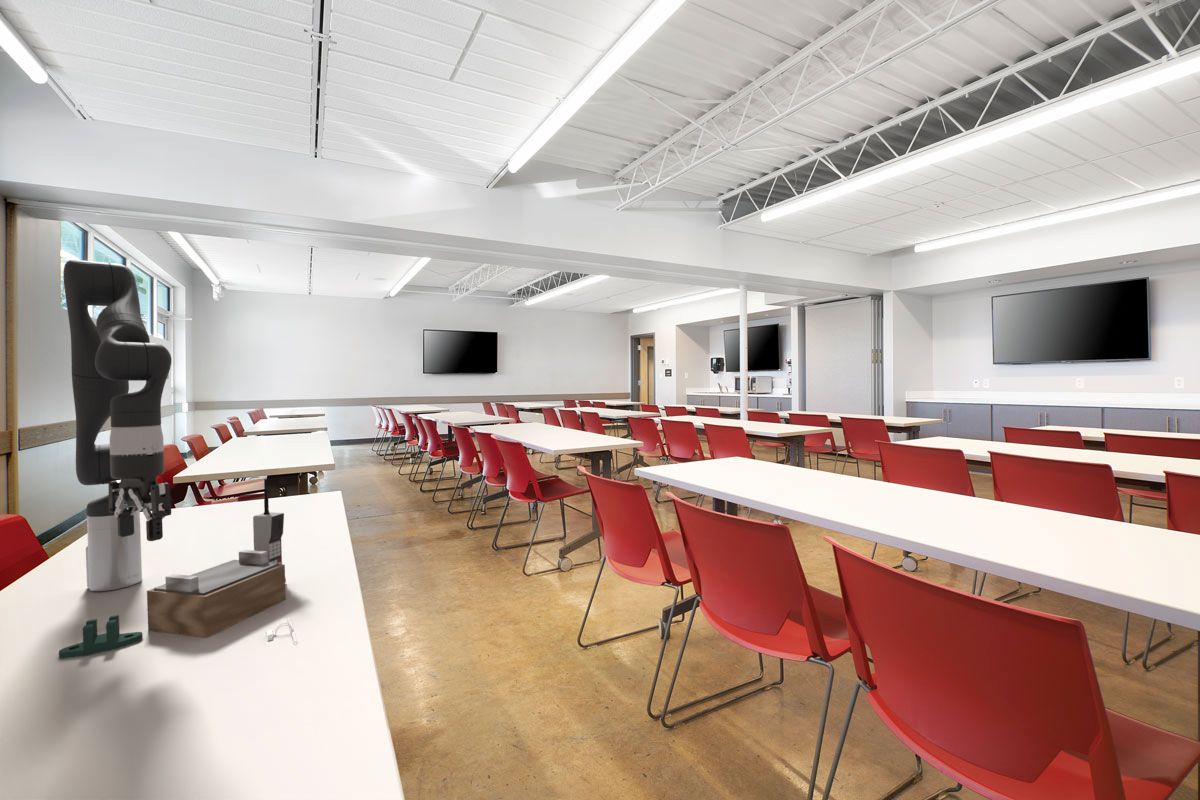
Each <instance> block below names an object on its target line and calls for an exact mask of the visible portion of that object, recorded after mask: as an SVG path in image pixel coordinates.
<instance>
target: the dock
mask: <svg viewBox="0 0 1200 800" xmlns="http://www.w3.org/2000/svg"><path fill="white" fill-rule="evenodd" d="M285 566H286V565H285V564H283V563H282V564H279V563H269V562H268V561H267V551H254V549H253V550H252V549H251V550H250V549H243V550H240V551H238V559H231V560H229V561H226V562H224V563H221V564H217V565H215V566H212V567H209V568H207V569H204V570H201V571H199V572H196V573H192V574H190V575H189V574H188V575H186V574H175V573H173V574H169V575H167V576H165V583H164V584H162V585H158V586H155V587H154V588H151V589H148V590H146V603H147V604H146V605H147V607H146V608H147V609H146V610H147V631H150V632H159V633H167V634H175V635H182V636H183V635H184V636H192V637H199V638H209V637H211V636H213V635H216V634H217V633H219V632H221V631H223V630H225V629H228V628H230V627H231V626H234V625H236V624H238V623H240V622H242V621H244V620H246V619H248V618H250V617H252V616H254V615H257V614H259V613H261V612H263V611H265V610H266V609H268V608H271V607H272V606H274V605H277V604H279V603H281V602H283V601H285V600H287V598H286V583H285V578H286V567H285Z"/></svg>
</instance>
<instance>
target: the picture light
mask: <svg viewBox="0 0 1200 800" xmlns="http://www.w3.org/2000/svg"><path fill="white" fill-rule="evenodd" d="M286 619H287V620H286V621H287V623H281V624H279V625H278V626H277V627H276V629H275V630H274V632H273V631H272V628H268V629H266V633H267V642H269V641H273V639H274V637H276V636H277V632H278V631H279V629H280V628H282V627H284V626H287V627H288V629H289V631H290V636H291V640H292V644H293V645H294V646H298V643H299V642H298V641H297V637H296V633H295V630H294V625H293V624H292V618H290V617H288V618H286Z"/></svg>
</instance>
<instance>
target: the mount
mask: <svg viewBox="0 0 1200 800" xmlns="http://www.w3.org/2000/svg"><path fill="white" fill-rule="evenodd" d="M143 637H144V636H143V632H142V631H136V632H135V631H134V632H126V633H120V615H119V614H115V615H109V617H108V620H107V621H106V624H105V633H99V634H98V619H97V618H93V619H88V620H86V621H85V625H83V627H82V642H78V643H75V644H72V645H69V646H65V647H63V648H61V649H59V650H58V659H61V660H62V659H63V660H64V659H73V658H79V657H80V658H81V657H86V656H91V655H95V654H101V653H105V652H108V651H113V650H117V649H120V648H124V647H128V646H130V645H133V644H136V643H139V642H140V641H142V640H143Z"/></svg>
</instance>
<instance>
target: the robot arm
mask: <svg viewBox="0 0 1200 800" xmlns="http://www.w3.org/2000/svg"><path fill="white" fill-rule="evenodd" d="M63 266H64V267H63V287H64V295H65V300H66V301H65V302H66V303H65V304H66V308H67V309H66V310H67V316H68V324H69V331H70V332H69V333H70V348H71V350H70V351H71V352H70V353H71V354H70V355H71V356H70V357H71V383H72V385H71V386H72V393H73V403H74V410H75V422H76V423H75V424H76V425H75V427H76V428H75V473H76V477H77V481H78V482H79V483H80V484H81V485H83V486H97V485H108V494H107V495H104V496H101V497H99V498H96V499H94V500H91V501H90V502H88V503H87V504H86V530H87V546H86V547H85V562H86V563H85V564H86V565H85V566H86V587H87V588H89V589H88V590H89V591H92V592H107V591H114V590H119V589H120V590H121V589H123V588H127V587H130V586H133V585H137V584H138V583H140V582H141V581H142V580H143V572H142V570H143V568H142V566H143V565H142V561H143V560H142V541H141V539H142V537H141V512H142V513H143V515H144V517H145V519H146V521H145V530H146V531H145V532H146V541H147V542H154V541H155V542H156V541H159V540H162V538H163V537H164V533H163V519H164V518H166V517H167V516H171V515H172V503H171V499H172V498H171V488H170V483H169V482H164V483H163V482H161V483H158V481H157V477H158V476H161V475H163V474H164V472H165V449H164V448H165V446H164V434H163V429H162V410H161V409H162V406H161V404H162V398H163V391H164V389H165V384H166V381H167V379H168V376H169V373H170V370H171V366H172V356H171V353H170V351H169V350H168V349H167V347H166V346H164V345H162V344H160V343H156V342H155V343H154V342H150V341H151V340H150V336H149V334H148V331H147V328H146V326H145V324H144V321H143V319H142V314H141V305H140V297H139V291H138V287H137V281H136V278H135V275H134V273H133V271H132V270H131V269H130V267H128V266H127V265H124V264H120V263H115V262H114V263H113V262H105V261H104V262H103V261H102V262H101V261H89V260H82V259H80V260H79V259H70V260H68V261H66V263H65V264H64V265H63ZM89 306H96V307H97V306H100V307H105V308H103V309H102V310H101V311H100V313H99V314H98V315H97V318H96V321H95V322H94V320H93V319H92V317H91V315H90V313H89V309H88V307H89ZM130 381H142V382H143V381H145V384H144V386H143V388H141V389H140V390H138V391H134V392H129V391H130V384H129V382H130ZM109 418H110V434H109V443H108V444H106V443H105V444H95V443H96V440H97V437H98V435H99V433H100V431H101V429H102V428H103V427H104V425H105V423H106V422H107V421H108V420H109ZM162 505H163V506H162Z"/></svg>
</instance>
